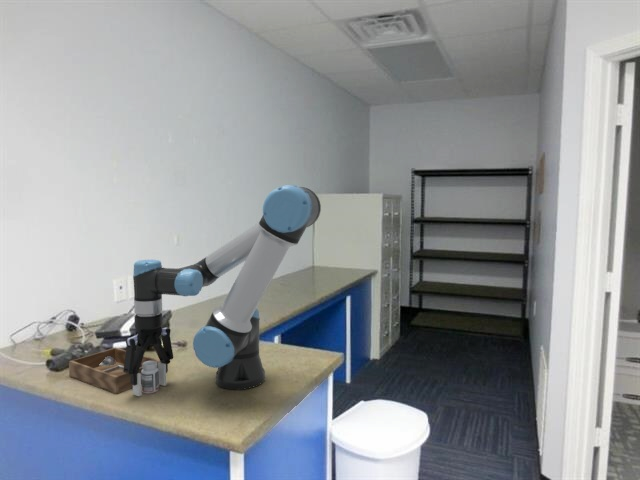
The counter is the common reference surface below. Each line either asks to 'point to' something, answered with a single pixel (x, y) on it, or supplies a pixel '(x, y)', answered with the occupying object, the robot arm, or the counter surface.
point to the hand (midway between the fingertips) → (150, 389)
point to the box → (104, 370)
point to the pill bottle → (150, 377)
